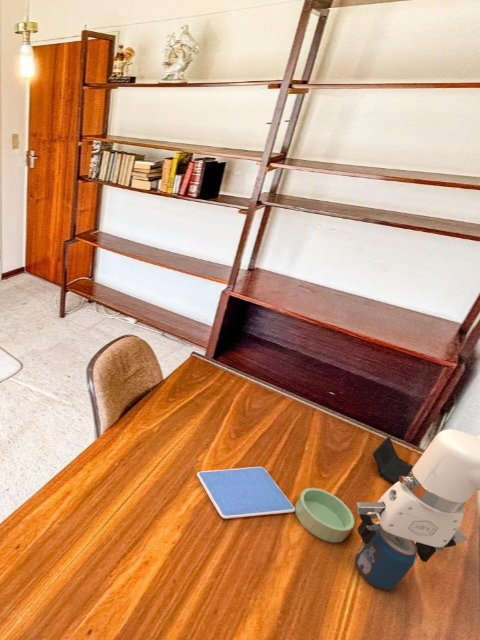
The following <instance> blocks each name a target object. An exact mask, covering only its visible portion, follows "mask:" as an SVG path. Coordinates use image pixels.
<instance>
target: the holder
mask: <svg viewBox="0 0 480 640" xmlns="http://www.w3.org/2000/svg"><path fill="white" fill-rule="evenodd" d="M294 508H295V511H294V512H295V513H294V514H295V516H296V518H297V520H298V521H299V522H300V524H301V525H302V526H303V527H304V528H305V529H306V530H307V531H308V532H309V533H310V534H312V535H314V536H315V537H316V538H319V539H321V540H323V541H326V542H329V543H336V544H337V543H341V542H343V541H345V540H346V539H347V538H348V536H349V534H350V533H351V531H352V530H353V528H354V526H355V516H354V515H353V512H352V511H351V509H350V508H349V507H348V506H347V504H345V502H344V501H343V500H341V499H340V498H339V497H338V496H336V495H334V494H333V493H331V492H329V491H327V490H324V489H323V488H317V487H306V488H304V489H303V490H302V491H301V493H300V495H299V497H298V498H297V500H296V503H295V505H294Z"/></svg>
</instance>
